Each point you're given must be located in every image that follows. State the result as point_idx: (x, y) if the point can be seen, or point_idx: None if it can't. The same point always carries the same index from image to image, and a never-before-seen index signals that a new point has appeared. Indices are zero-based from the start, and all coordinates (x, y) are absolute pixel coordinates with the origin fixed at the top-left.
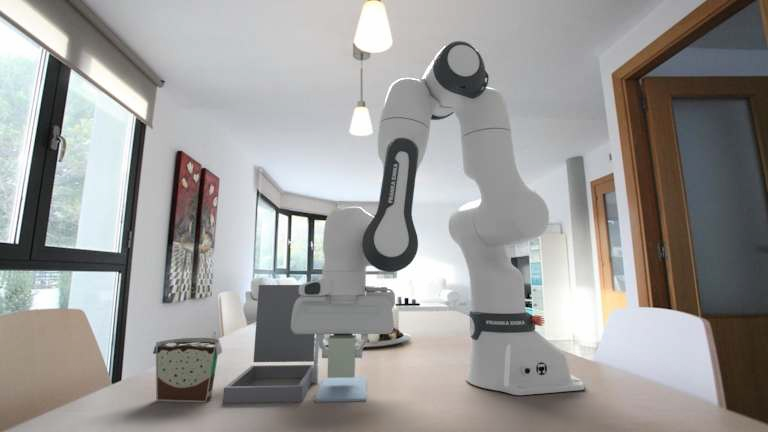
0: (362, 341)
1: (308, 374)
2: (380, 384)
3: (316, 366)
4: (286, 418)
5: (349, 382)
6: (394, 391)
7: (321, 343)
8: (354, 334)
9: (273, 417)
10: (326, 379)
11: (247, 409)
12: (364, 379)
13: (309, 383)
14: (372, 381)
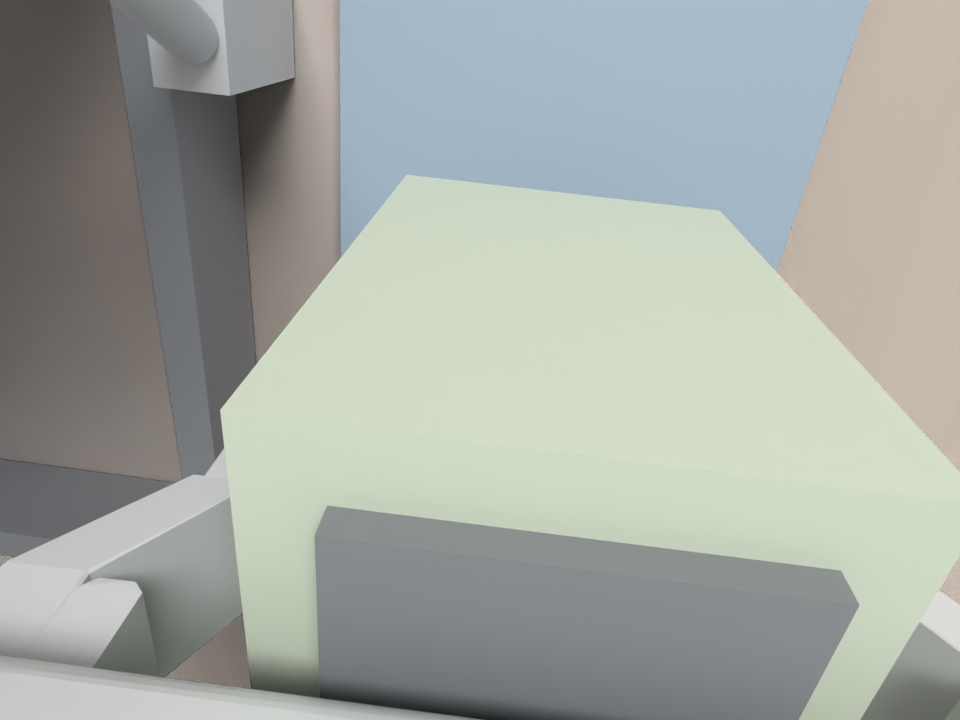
0: (929, 664)
1: (183, 268)
2: (935, 227)
3: (204, 58)
4: (248, 685)
5: (625, 191)
6: (952, 441)
7: (169, 658)
8: (864, 658)
9: (184, 666)
10: (382, 16)
11: (5, 561)
12: (818, 96)
13: (230, 211)
14: (903, 95)
